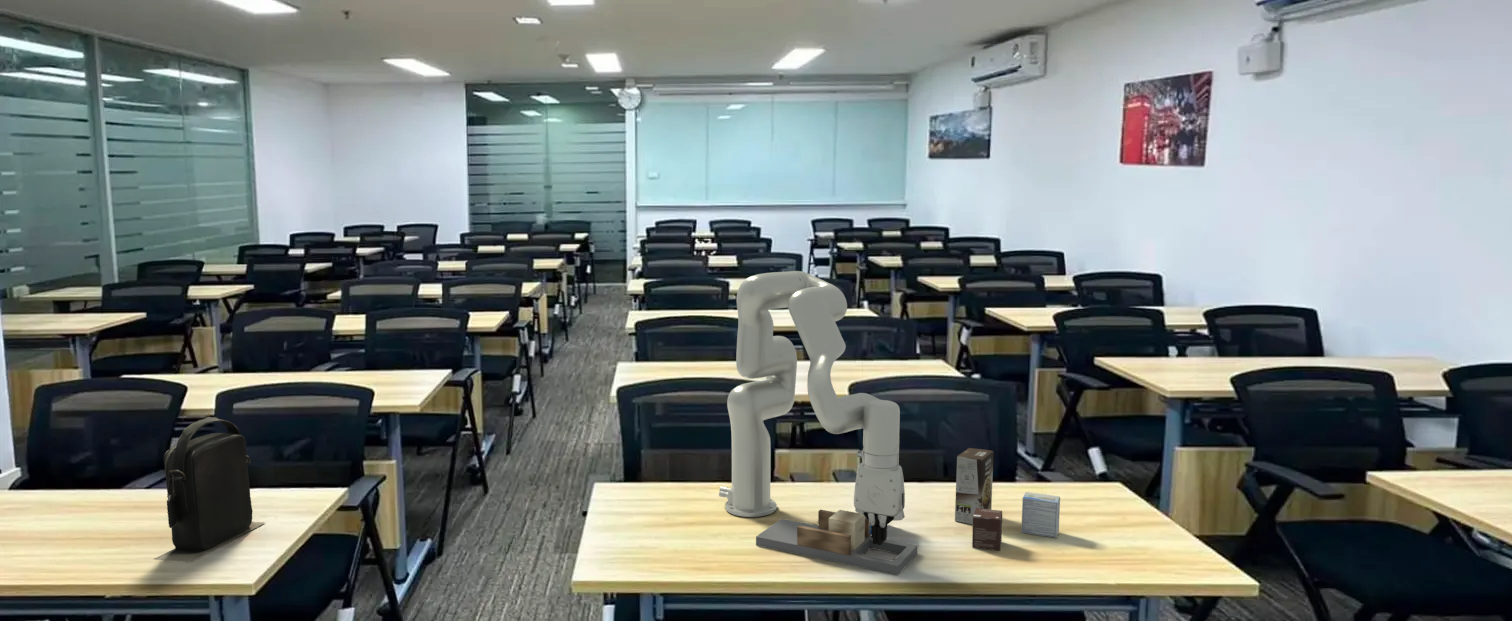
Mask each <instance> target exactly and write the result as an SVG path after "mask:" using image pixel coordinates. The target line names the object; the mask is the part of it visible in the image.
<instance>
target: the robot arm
mask: <svg viewBox="0 0 1512 621" xmlns="http://www.w3.org/2000/svg"><path fill="white" fill-rule="evenodd" d="M786 308H787V309H788V311H789V315H790V317H791V318H792V321H793V323H794V326H795V328H796V331H797V332H798V334H799V337H800V339H801V343H802V344H803V346H804V348H805V349H804V350H805V351H806V353H807V355H808V358H809V362H810V363H809V364H810V365H809V367H808V368H809V369H808V370H807V371H808V372H807V383H806V384H807V385H806V386H807V394H808V398H809V402H810V404H811V407H812V410H813V411H814V414H815V416H816V418H817V420H818V421H819V423H820V425H821V427H823V429H825V431H827V432H828V433H830V434H833V435H839V434H841V435H842V434H844V433H848V432H853V431H855V430H861V429H863V432H862V433H863V435H862V437H863V438H862V449H861V450H857V452H856V457H858V458H860V459H861V462H859V464H858V467H857V471H856V477H855V482H854V483H855V484H854V494H853V507H854V512H855V513H860V514H862V515H864V516H865V517H866V518H867V519H868V521H869V524H870V525H871V535H870V536H871V538H873V544H878V545H881V544H882V543H883V542H884V541H885V540H886V539H888V525H889V524H890V523H891V522H895V521H903V520H904V518H905V516H906V515H905V511H904V509H905V505H906V504H905V503H906V496H905V495H906V493H905V492H906V491H905V481H904V474H903V468H902V465H900V464H899V462H900V461H899V458H900V455H899V454H900V428H901V427H900V425H901V424H900V422H901V420H900V418H901V416H900V414H901V412H900V411H901V410H900V406H899V405H898V403H896V402H895V401H892V400H886V399H879V398H878V397H876V396H875V395H872V394H868V393H865V392H858V393H854V394H847V395H844V396H839V397H838V396H837V393H836V390H835V389H834V387H833V383H832V378H831V372H832V371H831V370H832V367H833V365H834V362H836V361H835V360H837V359H838V358H840V357H841V356H842V355H843V354H844V352H845V351H846V347H847V345H846V342H845V341H844V338H843V337H842V333H841V332H840V329H839V327H838V324H837V323H836V322H838V321H840V320H842V319H843V318H844V317H845V315H846V313H847V311H848V310H847V309H848V303H847V299H846V297H845V295H844V292H842V290H841V289H839V288H838V286H835V285H834V284H832V283H829V282H827V281H825V280H823V279H821V278H819V277H816V276H815V275H812V274H810V273H807V272H805V271H800V270H792V271H791V270H790V271H788V270H787V271H777V272H776V271H774V272H765V273H758V274H755V275H751V276H749V277H747V278H745V279H744V280H743V281H741V283H740V285H739V287H738V289H737V292H736V309H737V319H738V322H737V323H738V324H737V325H738V326H737V327H738V328H737V337H736V358H735V360H736V361H735V363H736V364H735V365H736V370H737V373H738V374H739V375H740V376H741V377H742V378H745V379H749V380H753V379H760V378H761V379H762V378H766V379H763V380H756V381H751V382H747V383H746V382H745V383H742V384H740V385H739V384H738V385H736V387H734V388H733V389H731V390H730V392H729V394H728V396H727V402H726V403H727V404H726V406H727V411H728V416H729V422H730V431H731V487H727V486H723V485H722V486H720V488H719V490H718V491H719V492H718V496H719V497H721V498H726V499H727V501H726V502H725V510H726V511H727V512H728V513H729V514H731V515H734V516H738V517H743V518H745V517H746V518H758V517H765V516H769V515H771V514H773V513H775V511H777V502H776V501H775V500H773V499H772V498H771V448H772V447H771V436H770V433H769V431H768V429H767V427H766V425H765V424H764V421H766V420H768V419H773V418H777V417H781V416H784V415H786V414H787V413H788V414H789V412H790V411H791V409H792V408H793V405H794V402H795V396H796V382H797V370H798V368H797V367H798V366H797V365H798V357H797V351H796V348H795V345H794V344H793V342H792V341H791V340H790V339H789V338H787V337H786V336H783V335H774V327H775V326H774V320H773V317H772V314H771V313H770V311H769V310H775V309H786ZM879 515H881V520H880V522H879Z"/></svg>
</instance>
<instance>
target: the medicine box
mask: <svg viewBox="0 0 1512 621" xmlns="http://www.w3.org/2000/svg"><path fill="white" fill-rule="evenodd" d="M1021 508H1022V509H1021V530H1020V531H1021V532H1020V533H1021V534H1029V535H1034V536H1043V537H1047V538H1048V537H1049V538H1055V539H1057V537H1058V535H1059V532H1060V511H1061V510H1060V509H1061V497H1060V496H1058V495H1053V494H1052V495H1051V494H1044V493H1038V492H1029V491H1025V493H1024V495H1023V497H1022V506H1021Z"/></svg>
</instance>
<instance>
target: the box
mask: <svg viewBox="0 0 1512 621" xmlns="http://www.w3.org/2000/svg"><path fill="white" fill-rule="evenodd" d="M1002 530H1003V510H998V509H991V510H990V509H981V508H976V509H975V512H974V515H973V524H972V534H971V536H972V537H971V538H972V541H971V544H972V545H971V547H972V548H973V549H980V548H981V550H991V551H998V552H999V551H1001V546H1002Z"/></svg>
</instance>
